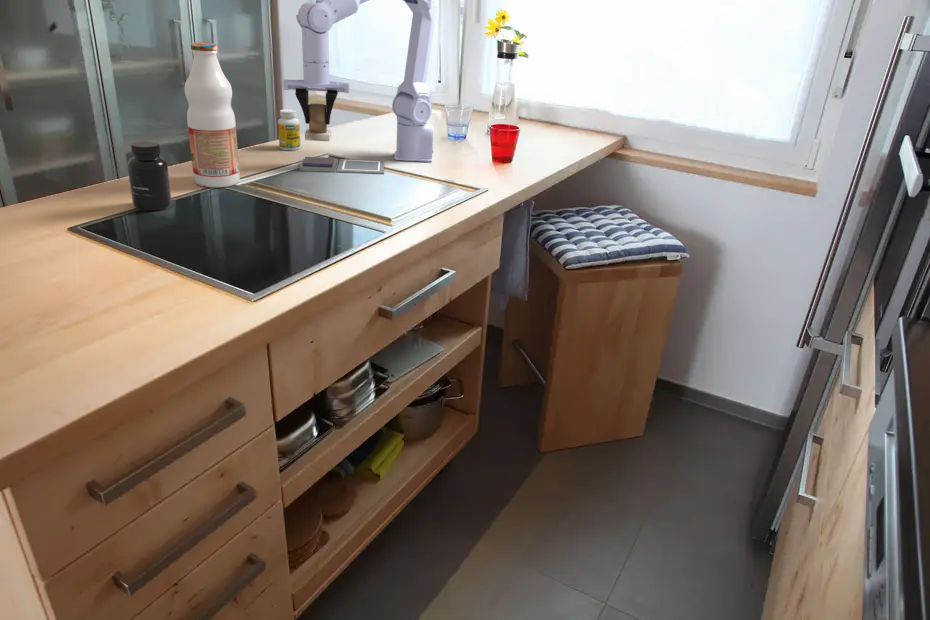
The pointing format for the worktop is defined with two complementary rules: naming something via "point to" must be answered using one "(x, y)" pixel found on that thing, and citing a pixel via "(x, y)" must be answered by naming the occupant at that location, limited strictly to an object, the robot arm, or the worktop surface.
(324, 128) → the stamp
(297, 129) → the supplement bottle
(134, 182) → the supplement bottle
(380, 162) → the slate mat
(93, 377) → the worktop surface
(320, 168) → the ink pad
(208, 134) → the fruit juice
